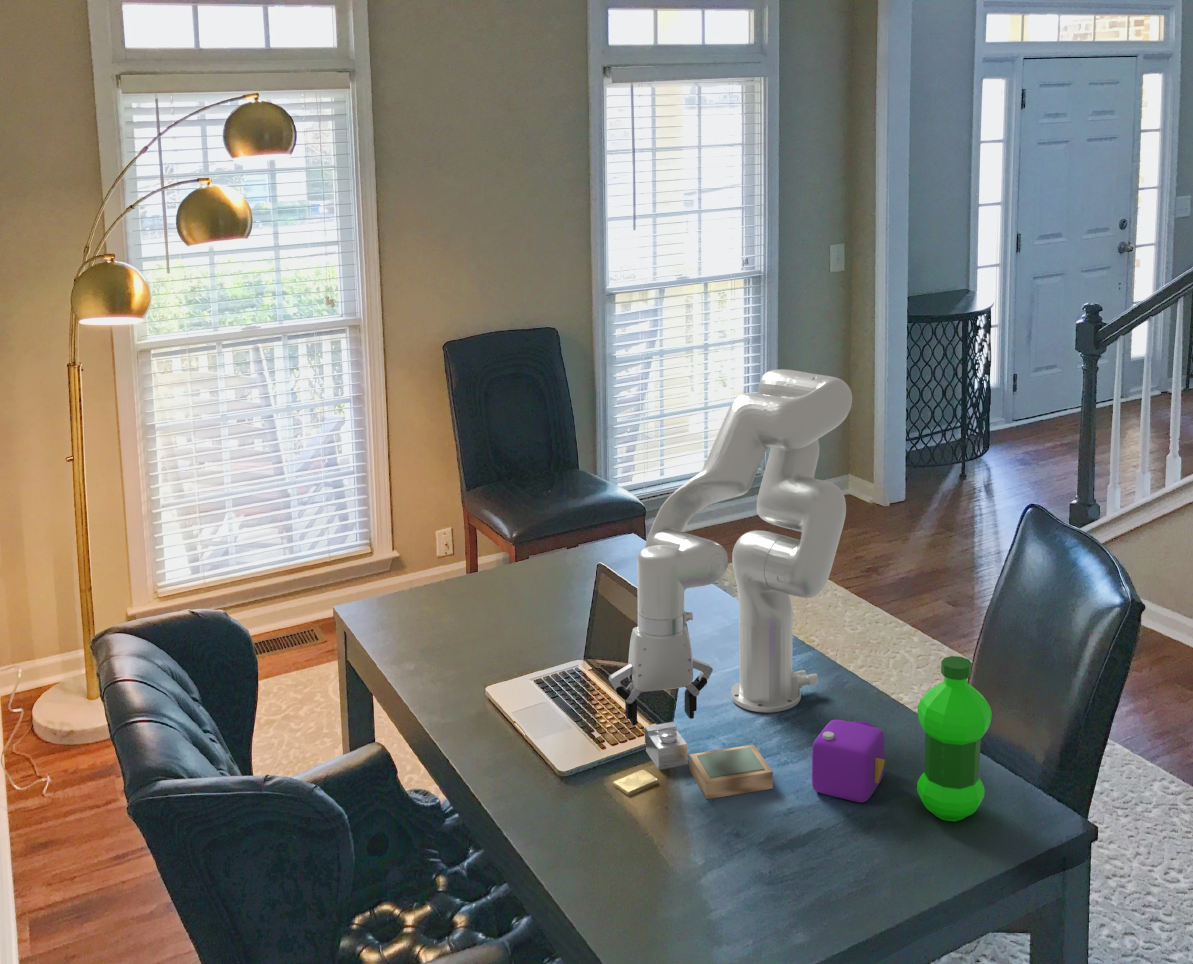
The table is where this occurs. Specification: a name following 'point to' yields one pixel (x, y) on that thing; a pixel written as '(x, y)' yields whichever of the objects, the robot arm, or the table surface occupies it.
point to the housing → (665, 746)
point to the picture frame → (730, 771)
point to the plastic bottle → (953, 742)
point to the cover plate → (635, 782)
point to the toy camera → (848, 760)
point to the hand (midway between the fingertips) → (661, 718)
